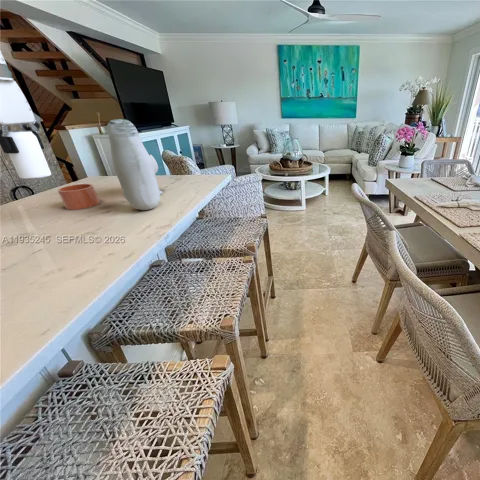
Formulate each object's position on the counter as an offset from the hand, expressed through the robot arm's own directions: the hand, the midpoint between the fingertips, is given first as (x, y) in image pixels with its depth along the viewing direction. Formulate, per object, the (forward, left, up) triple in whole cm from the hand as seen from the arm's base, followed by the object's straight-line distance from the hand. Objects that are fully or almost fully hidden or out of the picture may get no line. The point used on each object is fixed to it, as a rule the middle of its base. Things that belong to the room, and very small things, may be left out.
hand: (25, 150), depth 71 cm
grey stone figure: (+19, -13, -21) cm, 31 cm away
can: (0, 0, -7) cm, 7 cm away
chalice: (+28, +2, -21) cm, 35 cm away
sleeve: (+10, +8, -21) cm, 24 cm away
